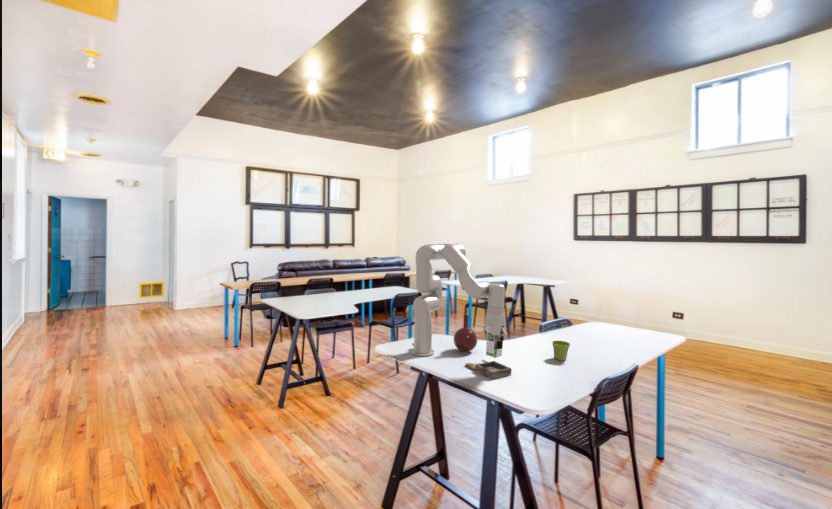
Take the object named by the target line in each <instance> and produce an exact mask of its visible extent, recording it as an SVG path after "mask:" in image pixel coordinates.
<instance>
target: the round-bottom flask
mask: <svg viewBox="0 0 832 509" xmlns="http://www.w3.org/2000/svg"><path fill="white" fill-rule="evenodd" d="M469 317H470V315H468V314H467V315H463V327H461V328H459V329H457V330H456V331H455V333H454V334H453V335H454V336H453V344H454V346H455V348H456V349H458V350H459V351H461V352H464V353H466V352H471V351H473V350H475V347H476V346H477V343H478V336H477V333H476V332H475V331H474V330H473V329H472V328H469V320H470V319H469Z"/></svg>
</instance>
